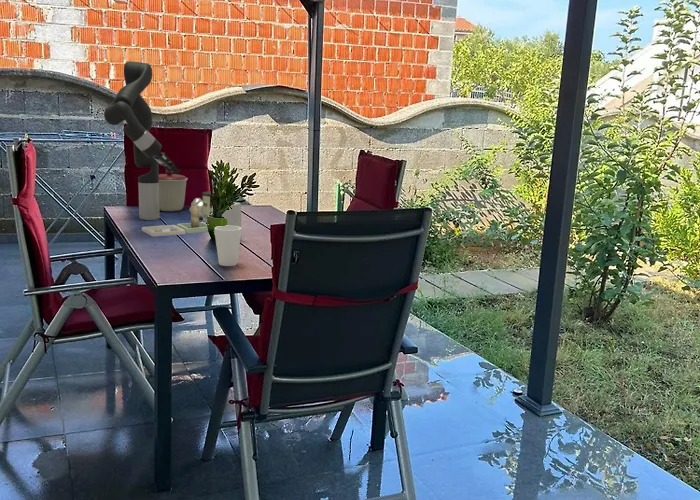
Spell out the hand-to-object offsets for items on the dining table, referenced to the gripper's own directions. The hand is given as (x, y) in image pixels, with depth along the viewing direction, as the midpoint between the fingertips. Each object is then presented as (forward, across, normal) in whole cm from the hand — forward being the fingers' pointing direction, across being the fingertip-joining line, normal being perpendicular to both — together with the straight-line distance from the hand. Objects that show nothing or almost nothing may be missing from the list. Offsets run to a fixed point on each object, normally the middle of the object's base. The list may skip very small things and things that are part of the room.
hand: (174, 171), depth 276 cm
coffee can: (+37, +18, +1) cm, 41 cm away
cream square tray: (+15, -1, +22) cm, 27 cm away
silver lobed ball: (+36, +30, +2) cm, 47 cm away
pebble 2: (+15, -5, +18) cm, 24 cm away
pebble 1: (+11, -5, +23) cm, 26 cm away
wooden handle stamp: (+24, -1, +12) cm, 27 cm away
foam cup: (+17, -59, +19) cm, 64 cm away
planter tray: (+25, -1, +12) cm, 28 cm away
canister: (+33, +58, +7) cm, 67 cm away
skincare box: (+29, -22, +7) cm, 37 cm away
